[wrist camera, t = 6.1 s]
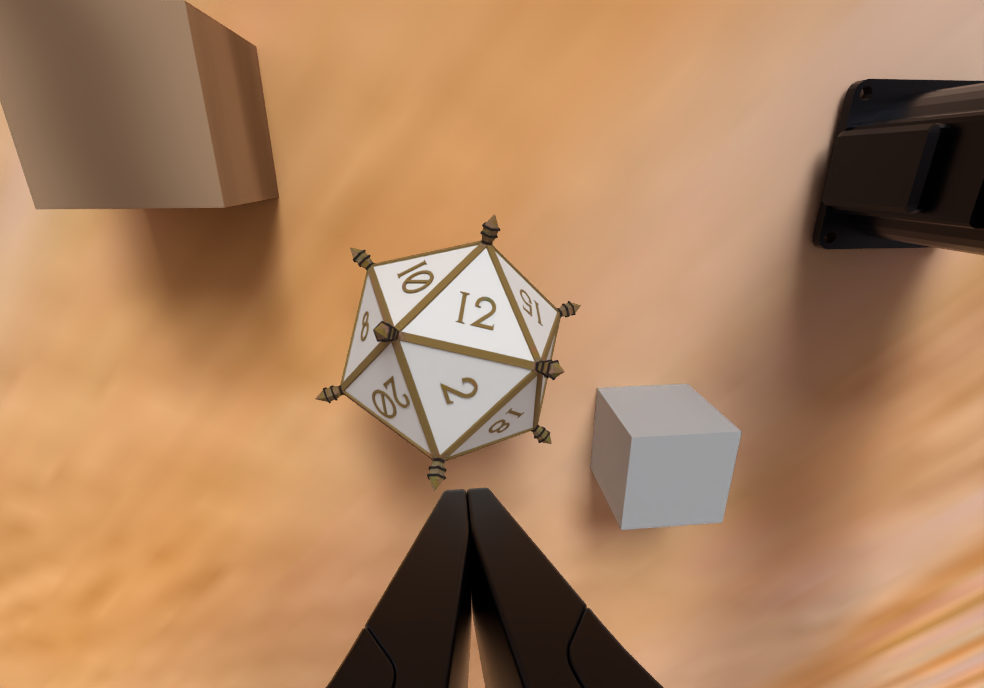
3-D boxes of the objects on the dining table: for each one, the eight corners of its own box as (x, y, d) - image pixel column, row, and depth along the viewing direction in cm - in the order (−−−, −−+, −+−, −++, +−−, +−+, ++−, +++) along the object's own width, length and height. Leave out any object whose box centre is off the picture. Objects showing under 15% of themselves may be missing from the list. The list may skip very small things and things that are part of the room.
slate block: (687, 383, 23) (741, 431, 19) (674, 461, 25) (722, 522, 20) (596, 387, 23) (632, 437, 18) (590, 466, 24) (621, 529, 20)
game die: (457, 331, 25) (427, 533, 19) (319, 229, 19) (223, 467, 14) (617, 267, 20) (638, 513, 14) (491, 105, 14) (448, 399, 9)
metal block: (257, 47, 17) (184, 0, 12) (279, 196, 18) (224, 207, 14) (103, 43, 16) (-35, -7, 11) (141, 197, 18) (35, 209, 13)
